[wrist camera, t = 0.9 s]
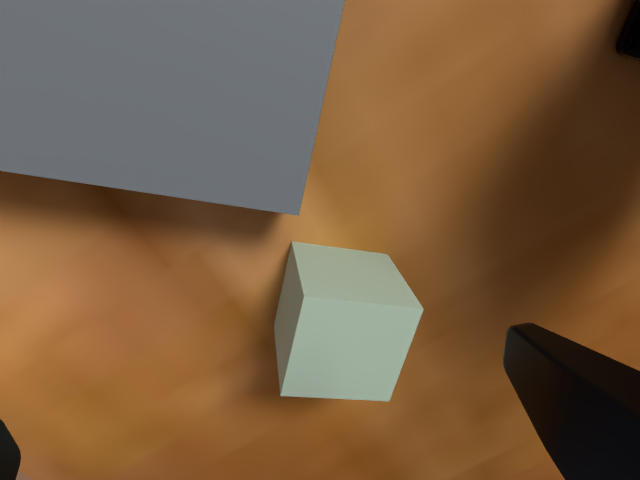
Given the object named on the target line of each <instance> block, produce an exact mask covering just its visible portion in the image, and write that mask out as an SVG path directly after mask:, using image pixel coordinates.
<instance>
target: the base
mask: <svg viewBox="0 0 640 480" xmlns="http://www.w3.org/2000/svg"><path fill="white" fill-rule="evenodd" d="M344 2H345V0H0V171H4V172H11V173H18V174H24V175H31V176H38V177H44V178H51V179H58V180H64V181H71V182H78V183H84V184H91V185H98V186H104V187H111V188H118V189H125V190H131V191H138V192H145V193H151V194H158V195H165V196H171V197H178V198H185V199H191V200H198V201H205V202H211V203H218V204H225V205H231V206H238V207H245V208H251V209H258V210H265V211H271V212H278V213H285V214H291V215H298V216H299V212H300V208H301V203H302V198H303V193H304V189H305V184H306V179H307V175H308V170H309V165H310V161H311V156H312V151H313V147H314V142H315V137H316V133H317V128H318V123H319V119H320V114H321V109H322V105H323V100H324V95H325V91H326V86H327V81H328V77H329V72H330V67H331V63H332V58H333V53H334V49H335V44H336V39H337V34H338V30H339V25H340V20H341V16H342V11H343V6H344Z"/></svg>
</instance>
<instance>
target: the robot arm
mask: <svg viewBox="0 0 640 480" xmlns="http://www.w3.org/2000/svg"><path fill="white" fill-rule="evenodd" d="M631 39H632V43H631V45H630V47H629V46H628V44H629V41H630V40H631ZM616 51H617V53H618V54H620V55H622V56H625V57H629V58H632V59H636V60H639V61H640V0H635V2H634V5H633V7H632V9H631V11H630V13H629V16H628V18H627V20H626V22H625V24H624V27H623V29H622V31H621V33H620V36H619V38H618V40H617V43H616ZM503 364H504V368H505V371H506V374H507V376H508V377H509V379H510V381H511V383H512V385H513V387H514V389H515V391H516V393H517V395H518V397H519V399H520V401H521V403H522V405H523V407H524V409H525V411H526V412H527V414H528V416H529V418H530V420H531V422H532V424H533V426H534V428H535V430H536V432H537V434H538V436H539V438H540V439H541V441H542V443H543V445H544V447H545V449H546V450H547V452H548V453H549V455H550V457H551V458H552V460H553V462H554V463H555V465H556V466H557V468H558V469H559V471H560V472H561V474H562V476H563V477H564V479H565V480H640V371H638V370H636V369H634V368H632V367H629V366H627V365H625V364H623V363H620V362H618V361H616V360H614V359H612V358H609V357H607V356H605V355H603V354H600V353H598V352H596V351H594V350H591V349H589V348H587V347H585V346H582V345H580V344H578V343H576V342H574V341H571V340H569V339H567V338H565V337H562V336H560V335H558V334H556V333H553V332H551V331H549V330H547V329H544V328H542V327H540V326H538V325H536V324H533V323H524V324H518V325H513V326H510V327H509V328H508V330H507V333H506V341H505V349H504V356H503ZM20 461H21V454H20V449H19V447H18V445H17V444H16V442H15V440H14V439H13V437H12V436H11V434H10V432H9V431H8V429H7V427H6V426H5V424H4V422H3V421H2V420H0V480H16V476H17V473H18V469H19V466H20Z"/></svg>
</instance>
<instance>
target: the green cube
mask: <svg viewBox="0 0 640 480" xmlns="http://www.w3.org/2000/svg"><path fill="white" fill-rule="evenodd" d="M423 310H424V309H423V307H422V306H421V304H420V303H419V301H418V300H417V298H416V297H415V295H414V294H413V292H412V291H411V289H410V287H409V286H408V284H407V283H406V281H405V280H404V278H403V277H402V275H401V274H400V272H399V271H398V269H397V268H396V266H395V265H394V263H393V262H392V260H391V259H390V257H389V256H388V254H382V253H374V252H367V251H359V250H352V249H345V248H337V247H330V246H322V245H315V244H307V243H300V242H293V241H292V242H291V247H290V252H289V256H288V261H287V266H286V271H285V275H284V280H283V285H282V289H281V294H280V299H279V304H278V308H277V313H276V318H275V322H274V334H275V345H276V355H277V365H278V376H279V386H280V396H292V397H313V398H334V399H354V400H375V401H390V398H391V395H392V393H393V390H394V387H395V385H396V382H397V379H398V377H399V374H400V371H401V369H402V366H403V363H404V361H405V358H406V355H407V353H408V350H409V347H410V345H411V342H412V339H413V336H414V334H415V331H416V328H417V326H418V323H419V320H420V318H421V315H422V312H423Z"/></svg>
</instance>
